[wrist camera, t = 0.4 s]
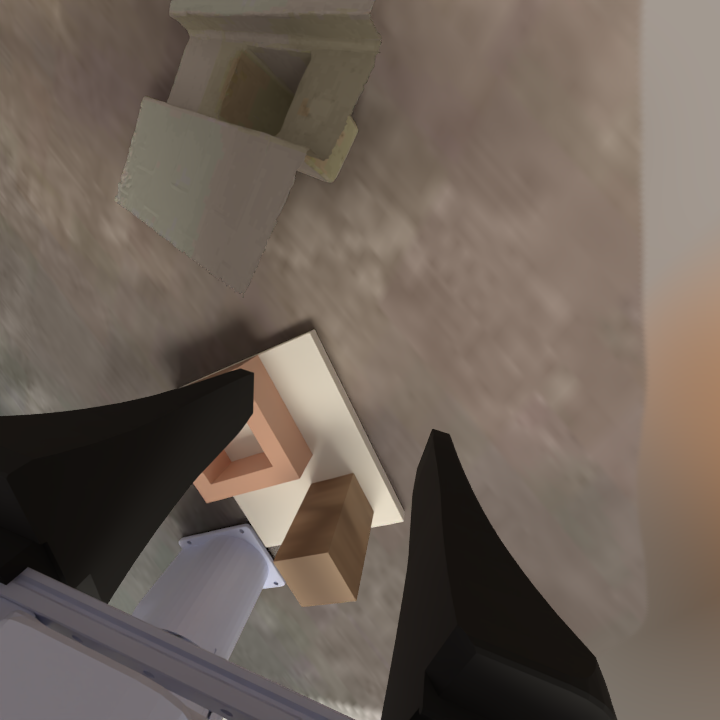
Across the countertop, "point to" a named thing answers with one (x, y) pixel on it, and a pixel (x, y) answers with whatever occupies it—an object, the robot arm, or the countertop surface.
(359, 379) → the countertop surface
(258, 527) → the cream board
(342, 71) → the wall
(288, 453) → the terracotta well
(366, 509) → the walnut block
